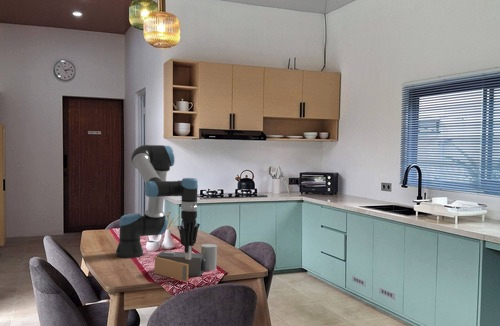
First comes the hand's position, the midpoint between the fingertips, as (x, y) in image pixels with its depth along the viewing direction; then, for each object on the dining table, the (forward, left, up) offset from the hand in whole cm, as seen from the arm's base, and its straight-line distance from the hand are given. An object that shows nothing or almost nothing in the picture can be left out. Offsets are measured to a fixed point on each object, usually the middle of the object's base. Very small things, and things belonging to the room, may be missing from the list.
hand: (188, 259), depth 226 cm
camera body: (-6, +9, -9) cm, 14 cm away
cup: (+6, +20, -9) cm, 23 cm away
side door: (-8, -3, -9) cm, 12 cm away
